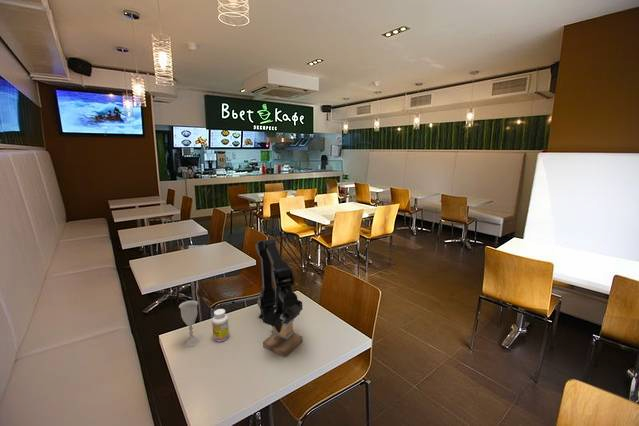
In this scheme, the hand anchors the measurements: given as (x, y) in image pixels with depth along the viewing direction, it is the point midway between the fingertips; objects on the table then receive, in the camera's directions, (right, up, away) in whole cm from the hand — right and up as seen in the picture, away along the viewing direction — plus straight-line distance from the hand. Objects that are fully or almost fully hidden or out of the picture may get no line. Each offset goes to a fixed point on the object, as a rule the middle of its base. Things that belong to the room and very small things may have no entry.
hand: (282, 328), depth 126 cm
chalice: (-39, -7, +2) cm, 40 cm away
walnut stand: (0, -7, +1) cm, 7 cm away
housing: (0, -2, 0) cm, 2 cm away
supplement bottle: (-28, -6, +5) cm, 29 cm away
